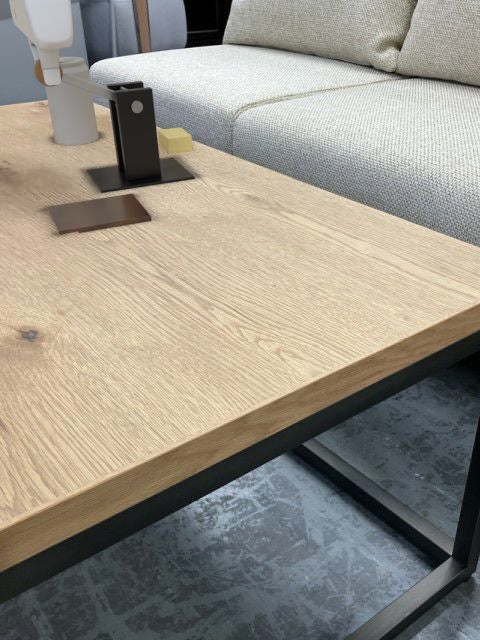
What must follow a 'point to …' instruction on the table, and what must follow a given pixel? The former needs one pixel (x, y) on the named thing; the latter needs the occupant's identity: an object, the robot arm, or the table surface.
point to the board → (98, 214)
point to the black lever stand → (135, 144)
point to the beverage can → (72, 107)
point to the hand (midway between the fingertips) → (49, 80)
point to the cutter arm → (76, 82)
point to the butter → (175, 140)
